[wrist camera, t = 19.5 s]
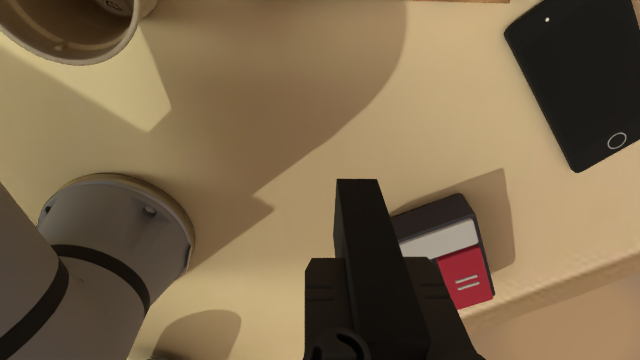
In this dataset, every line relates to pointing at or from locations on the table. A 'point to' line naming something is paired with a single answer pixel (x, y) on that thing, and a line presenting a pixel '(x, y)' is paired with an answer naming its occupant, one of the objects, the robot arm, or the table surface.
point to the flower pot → (72, 27)
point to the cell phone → (583, 73)
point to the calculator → (449, 247)
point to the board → (481, 0)
